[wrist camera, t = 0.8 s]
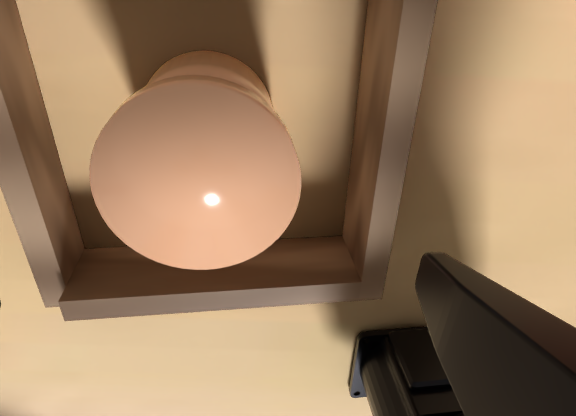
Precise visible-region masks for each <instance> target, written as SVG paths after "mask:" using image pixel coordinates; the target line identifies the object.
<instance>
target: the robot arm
mask: <svg viewBox="0 0 576 416" xmlns="http://www.w3.org/2000/svg"><path fill="white" fill-rule="evenodd" d="M415 288H416V293H417V296H418V299H419V302H420V305H421V308H422V311H423V314H424V317H425V320H426V323H427V326H428V327H417V328H404V329H392V330H379V331H366V332H362V333H360V334H359V335H358V337H357V342H356V348H355V354H354V361H353V367H352V374H351V380H350V386H349V392H350V395H351V397H353V398H359V397H367V399H368V402H369V405H370V408H371V412H372V415H373V416H576V328H575V327H573V326H572V325H570V324H568V323H566V322H565V321H563V320H561V319H559V318H558V317H556V316H554V315H552V314H550V313H549V312H547V311H545V310H543V309H542V308H540V307H538V306H536V305H535V304H533V303H531V302H529V301H528V300H526V299H524V298H522V297H521V296H519V295H517V294H515V293H514V292H512V291H510V290H508V289H507V288H505V287H503V286H501V285H499V284H498V283H496V282H494V281H492V280H491V279H489V278H487V277H485V276H484V275H482V274H480V273H478V272H477V271H475V270H473V269H471V268H470V267H468V266H466V265H464V264H463V263H461V262H459V261H457V260H456V259H454V258H452V257H450V256H449V255H447V254H445V253H442V252H431V253H425V254H424V255H423V256H422V259H421V263H420V266H419V270H418V274H417V278H416V283H415ZM0 306H1V302H0Z"/></svg>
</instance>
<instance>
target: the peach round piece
mask: <svg viewBox="0 0 576 416" xmlns="http://www.w3.org/2000/svg"><path fill="white" fill-rule="evenodd" d="M90 185H91V191H92V195H93V198H94V201H95V204H96V206H97V208H98V210H99V212H100V214H101V216H102V218H103V219H104V221H105V222H106V224H107V225H108V227H109V228H110V229H111V230H112V231H113V232H114V233H115V235H116V236H117V237H118V238H120V239H121V240H122V241H123V242H124V243H125V244H126V245H128V246H129V247H130V248H132V249H133V250H135V251H136V252H138V253H140V254H142V255H143V256H145V257H147V258H149V259H152V260H154V261H156V262H159V263H162V264H165V265H168V266H172V267H177V268H182V269H193V270H209V269H218V268H223V267H228V266H232V265H235V264H238V263H241V262H244V261H246V260H248V259H250V258H253V257H254V256H256V255H258V254H259V253H261V252H263V251H264V250H265V249H267V248H268V247H269V246H271V245H272V244H273V243H274V242H275V241H276V240H277V239H278V238H279V237H280V236H281V235H282V233H283V232H284V231H285V230H286V228H287V227H288V225H289V224H290V222H291V220H292V219H293V216H294V214H295V212H296V209H297V207H298V203H299V199H300V193H301V170H300V164H299V160H298V157H297V154H296V151H295V148H294V145H293V142H292V139H291V137H290V134H289V132H288V130H287V128H286V126H285V124H284V123H283V122H282V120H281V119H280V117H279V116H278V114H277V113H276V112H275V111H274V109H273V106H272V103H271V100H270V97H269V94H268V92H267V90H266V88H265V86H264V84H263V83H262V81H261V80H260V78H259V77H258V76H257V75H256V73H255V72H254V71H253V70H252V69H250V68H249V67H248V66H247V65H246V64H244V63H243V62H241V61H240V60H238V59H236V58H234V57H232V56H229V55H227V54H224V53H220V52H215V51H205V50H203V51H192V52H187V53H184V54H181V55H178V56H176V57H174V58H172V59H170V60H168V61H167V62H166V63H164V64H163V65H162V66H161V67H160V68H159V69H158V70H157V71H156V72H155V73H154V74H153V76H152V77H151V78H150V80H149V81H148V83H147V84H146V86H145V87H143V88H142V89H140V90H138V91H137V92H135V93H134V94H133V95H131V96H130V97H129V98H128V99H127V100H126V101H125V102H124V103H123V104H122V105H121V106H120V107H119V108H118V109H117V110H116V112H115V113H114V114H113V116H112V117H111V118H110V120H109V121H108V122H107V124H106V125H105V126H104V128H103V129H102V130H101V132H100V134H99V136H98V138H97V140H96V142H95V145H94V148H93V152H92V155H91V161H90Z"/></svg>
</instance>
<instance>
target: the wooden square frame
mask: <svg viewBox="0 0 576 416" xmlns="http://www.w3.org/2000/svg"><path fill="white" fill-rule="evenodd" d="M437 2H438V0H368V8H367V17H366V26H365V35H364V44H363V53H362V62H361V71H360V80H359V89H358V98H357V107H356V116H355V125H354V134H353V143H352V153H351V162H350V171H349V180H348V189H347V198H346V207H345V216H344V225H343V234H342V236H329V237H310V238H290V239H277V240H276V241H275V242H274V243H273V244H272V245H271V246H269V247H268V248H267V249H265V250H264V251H263V252H261V253H259V254H258V255H256V256H254V257H253V258H250V259H248V260H246V261H244V262H241V263H238V264H235V265H232V266H228V267H223V268H218V269H209V270H193V269H182V268H177V267H172V266H168V265H165V264H162V263H159V262H156V261H154V260H152V259H149V258H147V257H145V256H143V255H142V254H140V253H138V252H136V251H135V250H133V249H132V248H130V247H113V248H93V249H85V248H84V245H83V241H82V238H81V234H80V230H79V227H78V223H77V220H76V216H75V213H74V209H73V205H72V202H71V198H70V195H69V191H68V188H67V184H66V180H65V177H64V173H63V170H62V166H61V163H60V159H59V155H58V152H57V148H56V145H55V141H54V138H53V134H52V131H51V127H50V123H49V120H48V116H47V113H46V109H45V106H44V102H43V98H42V95H41V91H40V88H39V84H38V81H37V77H36V73H35V70H34V66H33V63H32V59H31V56H30V52H29V48H28V45H27V41H26V38H25V34H24V31H23V27H22V23H21V20H20V16H19V13H18V9H17V6H16V2H15V0H0V187H1V190H2V192H3V195H4V198H5V201H6V203H7V206H8V209H9V211H10V214H11V217H12V219H13V222H14V225H15V227H16V230H17V233H18V235H19V238H20V241H21V243H22V246H23V249H24V251H25V254H26V257H27V259H28V262H29V265H30V267H31V270H32V273H33V275H34V278H35V281H36V284H37V286H38V289H39V292H40V294H41V297H42V300H43V302H44V305H45V308H46V307H60V309H61V312H62V315H63V317H64V320H65V321H74V320H88V319H102V318H117V317H131V316H145V315H159V314H174V313H188V312H202V311H217V310H231V309H245V308H260V307H274V306H288V305H302V304H317V303H331V302H345V301H360V300H374V299H382V295H383V290H384V285H385V279H386V274H387V269H388V263H389V258H390V253H391V247H392V242H393V237H394V231H395V226H396V221H397V215H398V210H399V205H400V199H401V194H402V189H403V183H404V178H405V173H406V167H407V162H408V157H409V151H410V146H411V141H412V135H413V130H414V125H415V119H416V114H417V109H418V103H419V98H420V93H421V87H422V82H423V77H424V71H425V66H426V61H427V55H428V50H429V45H430V39H431V34H432V29H433V23H434V18H435V13H436V7H437Z"/></svg>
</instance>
